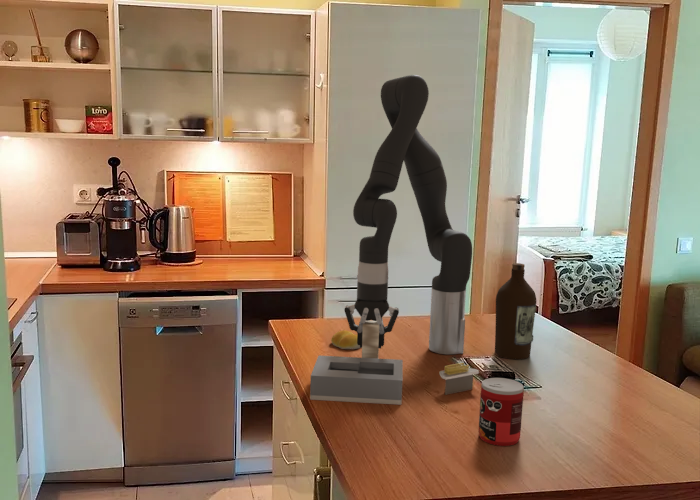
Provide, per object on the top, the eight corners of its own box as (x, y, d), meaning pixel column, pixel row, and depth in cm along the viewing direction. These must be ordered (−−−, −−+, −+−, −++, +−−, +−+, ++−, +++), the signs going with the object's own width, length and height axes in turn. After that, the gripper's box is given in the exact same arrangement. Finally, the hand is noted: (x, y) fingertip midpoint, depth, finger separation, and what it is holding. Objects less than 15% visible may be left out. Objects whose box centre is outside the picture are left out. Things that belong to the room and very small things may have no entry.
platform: (409, 390, 157) (410, 363, 156) (469, 378, 166) (471, 352, 165) (441, 408, 147) (442, 379, 146) (503, 394, 156) (505, 367, 155)
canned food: (473, 429, 135) (476, 377, 134) (512, 429, 136) (516, 377, 134) (484, 447, 128) (487, 391, 126) (525, 446, 129) (529, 391, 127)
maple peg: (382, 365, 172) (383, 319, 170) (381, 373, 166) (383, 326, 164) (358, 364, 173) (360, 318, 171) (356, 372, 167) (358, 325, 165)
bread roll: (347, 352, 183) (347, 338, 182) (326, 344, 189) (327, 330, 189) (370, 347, 188) (370, 333, 187) (349, 339, 195) (349, 325, 194)
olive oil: (484, 351, 186) (489, 262, 182) (511, 346, 192) (517, 259, 188) (513, 363, 177) (519, 269, 173) (540, 356, 183) (547, 266, 179)
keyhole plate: (401, 382, 161) (402, 359, 160) (401, 404, 147) (402, 380, 146) (318, 377, 162) (318, 355, 161) (310, 399, 149) (310, 375, 148)
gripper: (401, 277, 169) (399, 344, 172) (345, 275, 170) (343, 341, 173) (401, 284, 161) (398, 353, 164) (342, 281, 162) (340, 350, 165)
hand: (370, 346), depth 168 cm, fingers closed on maple peg, 4 cm apart
